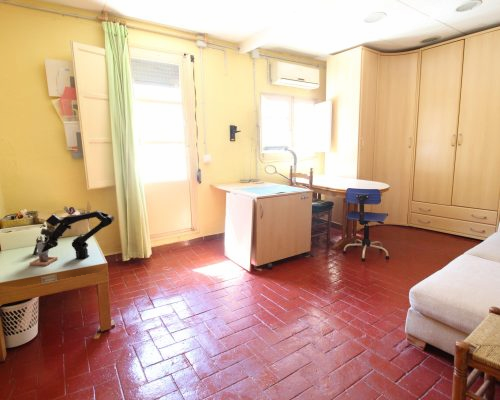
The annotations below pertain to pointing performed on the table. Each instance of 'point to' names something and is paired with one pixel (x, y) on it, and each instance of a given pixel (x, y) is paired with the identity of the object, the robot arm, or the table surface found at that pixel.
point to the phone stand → (36, 245)
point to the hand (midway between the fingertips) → (41, 249)
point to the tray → (37, 263)
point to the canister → (42, 255)
